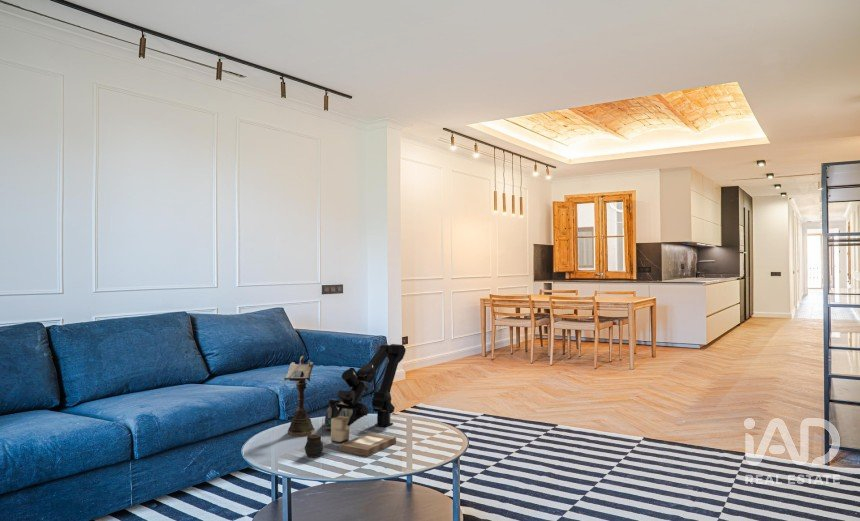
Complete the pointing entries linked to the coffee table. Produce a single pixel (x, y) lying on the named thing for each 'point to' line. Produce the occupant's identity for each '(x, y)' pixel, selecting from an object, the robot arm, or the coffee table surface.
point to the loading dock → (368, 444)
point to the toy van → (342, 413)
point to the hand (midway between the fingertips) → (339, 424)
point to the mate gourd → (313, 445)
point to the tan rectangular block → (339, 429)
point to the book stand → (300, 398)
